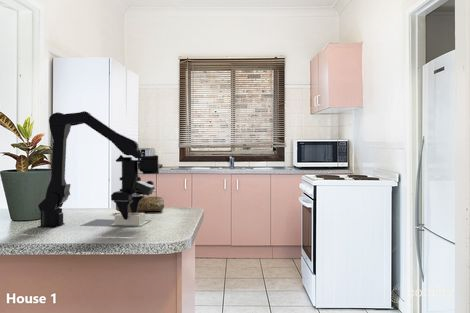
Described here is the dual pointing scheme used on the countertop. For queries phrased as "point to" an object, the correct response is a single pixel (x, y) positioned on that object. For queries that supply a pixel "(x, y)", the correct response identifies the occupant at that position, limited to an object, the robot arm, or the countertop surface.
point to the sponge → (148, 204)
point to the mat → (111, 223)
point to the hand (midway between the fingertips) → (130, 217)
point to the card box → (130, 219)
